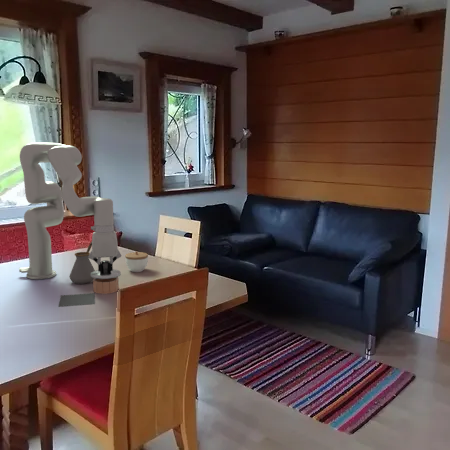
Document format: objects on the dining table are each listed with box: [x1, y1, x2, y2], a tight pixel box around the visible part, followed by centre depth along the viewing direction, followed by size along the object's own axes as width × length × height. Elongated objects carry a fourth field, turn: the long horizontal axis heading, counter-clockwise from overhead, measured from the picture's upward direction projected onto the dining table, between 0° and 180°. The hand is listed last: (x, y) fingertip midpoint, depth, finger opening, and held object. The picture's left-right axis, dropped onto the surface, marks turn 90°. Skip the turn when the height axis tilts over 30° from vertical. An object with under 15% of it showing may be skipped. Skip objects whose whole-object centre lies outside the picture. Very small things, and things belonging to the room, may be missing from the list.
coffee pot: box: [69, 241, 96, 285], centre depth 202 cm, size 21×12×15 cm, turn 0°
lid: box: [90, 259, 121, 279], centre depth 186 cm, size 12×12×6 cm
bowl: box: [92, 276, 120, 295], centre depth 187 cm, size 10×10×5 cm
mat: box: [58, 292, 96, 308], centre depth 175 cm, size 13×13×1 cm
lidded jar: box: [124, 250, 149, 273], centre depth 218 cm, size 11×11×9 cm
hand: (105, 272), depth 187 cm, fingers closed on lid, 3 cm apart
